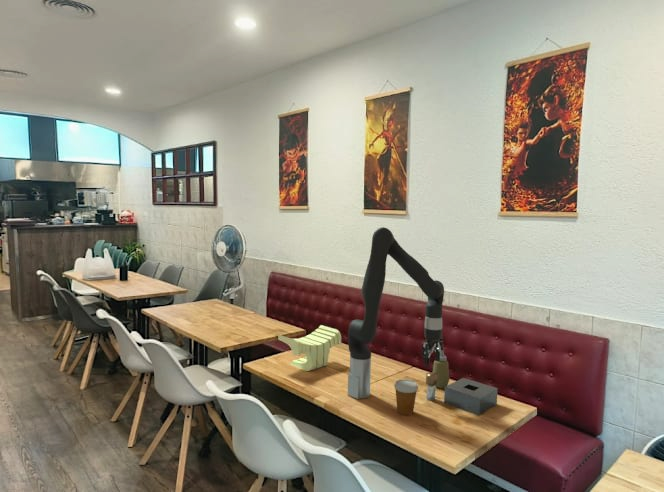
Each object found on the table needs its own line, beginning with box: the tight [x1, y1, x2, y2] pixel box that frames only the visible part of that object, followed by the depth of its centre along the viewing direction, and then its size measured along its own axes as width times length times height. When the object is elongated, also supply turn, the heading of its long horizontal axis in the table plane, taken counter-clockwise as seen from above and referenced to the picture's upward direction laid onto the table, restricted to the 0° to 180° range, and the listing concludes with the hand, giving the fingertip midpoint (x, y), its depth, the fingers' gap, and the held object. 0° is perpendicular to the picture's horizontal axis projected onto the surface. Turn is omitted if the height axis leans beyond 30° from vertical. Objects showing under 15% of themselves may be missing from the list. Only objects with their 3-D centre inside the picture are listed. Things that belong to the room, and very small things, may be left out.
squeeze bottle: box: [432, 350, 450, 389], centre depth 204 cm, size 8×8×18 cm
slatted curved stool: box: [277, 324, 342, 372], centre depth 228 cm, size 30×16×18 cm, turn 135°
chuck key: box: [425, 372, 437, 402], centre depth 190 cm, size 5×5×11 cm
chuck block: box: [443, 377, 499, 416], centre depth 186 cm, size 16×16×7 cm
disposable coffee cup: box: [393, 378, 419, 416], centre depth 176 cm, size 10×10×12 cm
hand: (432, 363), depth 190 cm, fingers open, 8 cm apart
